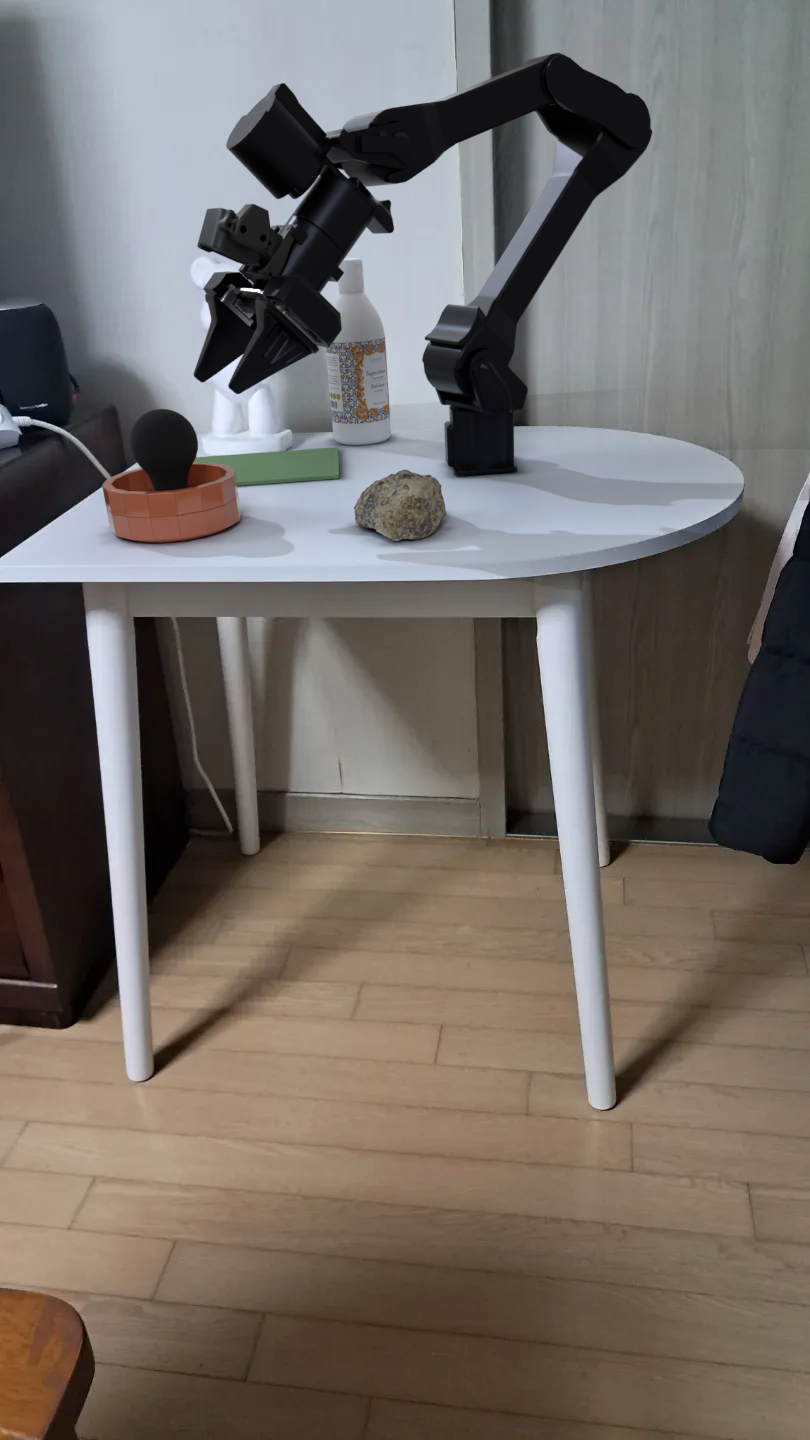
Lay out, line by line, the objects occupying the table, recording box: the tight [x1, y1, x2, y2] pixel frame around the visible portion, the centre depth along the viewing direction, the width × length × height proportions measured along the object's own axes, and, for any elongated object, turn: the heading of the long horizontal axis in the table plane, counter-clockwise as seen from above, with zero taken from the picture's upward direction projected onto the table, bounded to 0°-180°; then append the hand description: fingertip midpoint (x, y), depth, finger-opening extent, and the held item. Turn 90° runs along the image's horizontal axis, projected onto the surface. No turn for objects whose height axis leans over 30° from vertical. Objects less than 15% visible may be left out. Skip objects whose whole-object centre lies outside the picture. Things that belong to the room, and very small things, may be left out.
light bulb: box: [129, 408, 199, 491], centre depth 92 cm, size 6×6×10 cm
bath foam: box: [325, 257, 392, 446], centre depth 120 cm, size 7×7×20 cm
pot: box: [101, 462, 242, 544], centre depth 93 cm, size 12×12×4 cm
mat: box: [194, 446, 340, 487], centre depth 113 cm, size 20×14×1 cm
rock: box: [353, 469, 447, 542], centre depth 88 cm, size 7×8×4 cm
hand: (214, 384), depth 91 cm, fingers open, 9 cm apart
